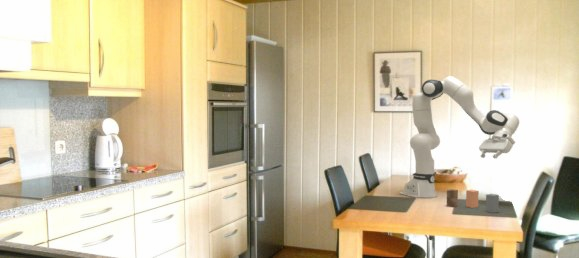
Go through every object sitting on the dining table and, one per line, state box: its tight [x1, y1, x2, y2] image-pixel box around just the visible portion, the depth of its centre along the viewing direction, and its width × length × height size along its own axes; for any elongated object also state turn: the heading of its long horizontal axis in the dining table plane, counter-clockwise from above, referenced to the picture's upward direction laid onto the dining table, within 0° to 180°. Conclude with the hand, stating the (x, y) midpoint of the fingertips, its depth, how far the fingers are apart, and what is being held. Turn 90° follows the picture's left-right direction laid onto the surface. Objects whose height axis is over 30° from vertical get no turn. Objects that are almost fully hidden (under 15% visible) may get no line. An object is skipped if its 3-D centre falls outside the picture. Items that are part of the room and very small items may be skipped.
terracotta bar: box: [465, 189, 479, 209], centre depth 281 cm, size 4×4×9 cm
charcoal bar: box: [485, 193, 500, 214], centre depth 268 cm, size 4×4×9 cm
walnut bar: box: [446, 188, 459, 208], centre depth 283 cm, size 4×4×9 cm
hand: (488, 157), depth 284 cm, fingers open, 8 cm apart
